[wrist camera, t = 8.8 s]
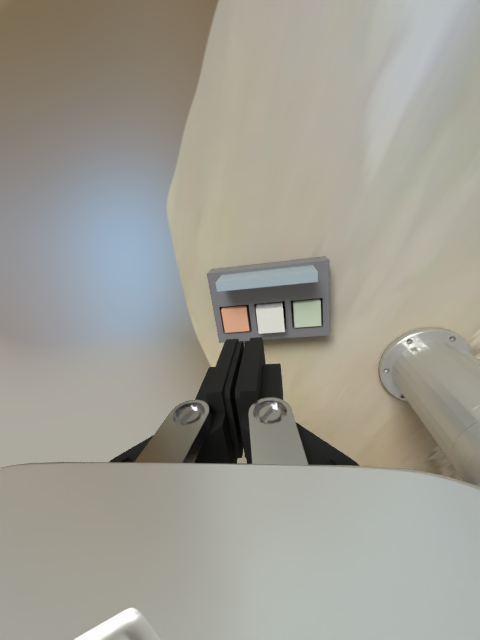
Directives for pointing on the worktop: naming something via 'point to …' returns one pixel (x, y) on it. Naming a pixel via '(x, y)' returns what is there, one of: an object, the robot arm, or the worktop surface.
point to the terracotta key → (236, 318)
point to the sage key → (307, 312)
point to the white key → (270, 317)
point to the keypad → (271, 294)
